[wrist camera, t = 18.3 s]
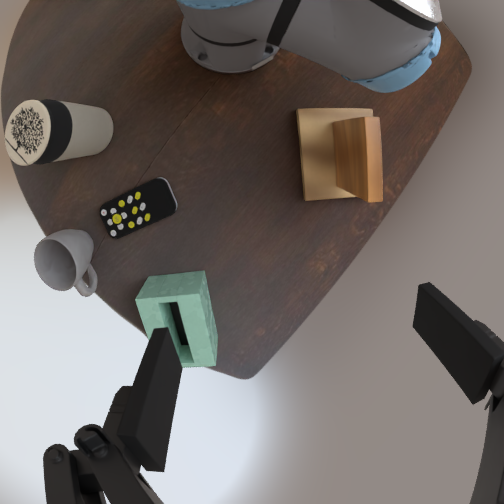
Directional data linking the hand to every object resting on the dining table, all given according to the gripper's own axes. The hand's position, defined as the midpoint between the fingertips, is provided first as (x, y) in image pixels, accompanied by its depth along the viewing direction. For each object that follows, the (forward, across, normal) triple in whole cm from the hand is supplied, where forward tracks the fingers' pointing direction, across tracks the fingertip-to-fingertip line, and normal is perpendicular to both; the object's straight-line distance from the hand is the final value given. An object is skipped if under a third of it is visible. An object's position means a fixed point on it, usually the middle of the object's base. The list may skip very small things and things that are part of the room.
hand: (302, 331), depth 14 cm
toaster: (+33, -15, -17) cm, 40 cm away
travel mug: (+33, -24, +16) cm, 44 cm away
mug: (+34, -31, -3) cm, 46 cm away
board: (+33, +13, +6) cm, 36 cm away
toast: (+32, +13, +6) cm, 35 cm away
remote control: (+34, -19, +2) cm, 38 cm away
